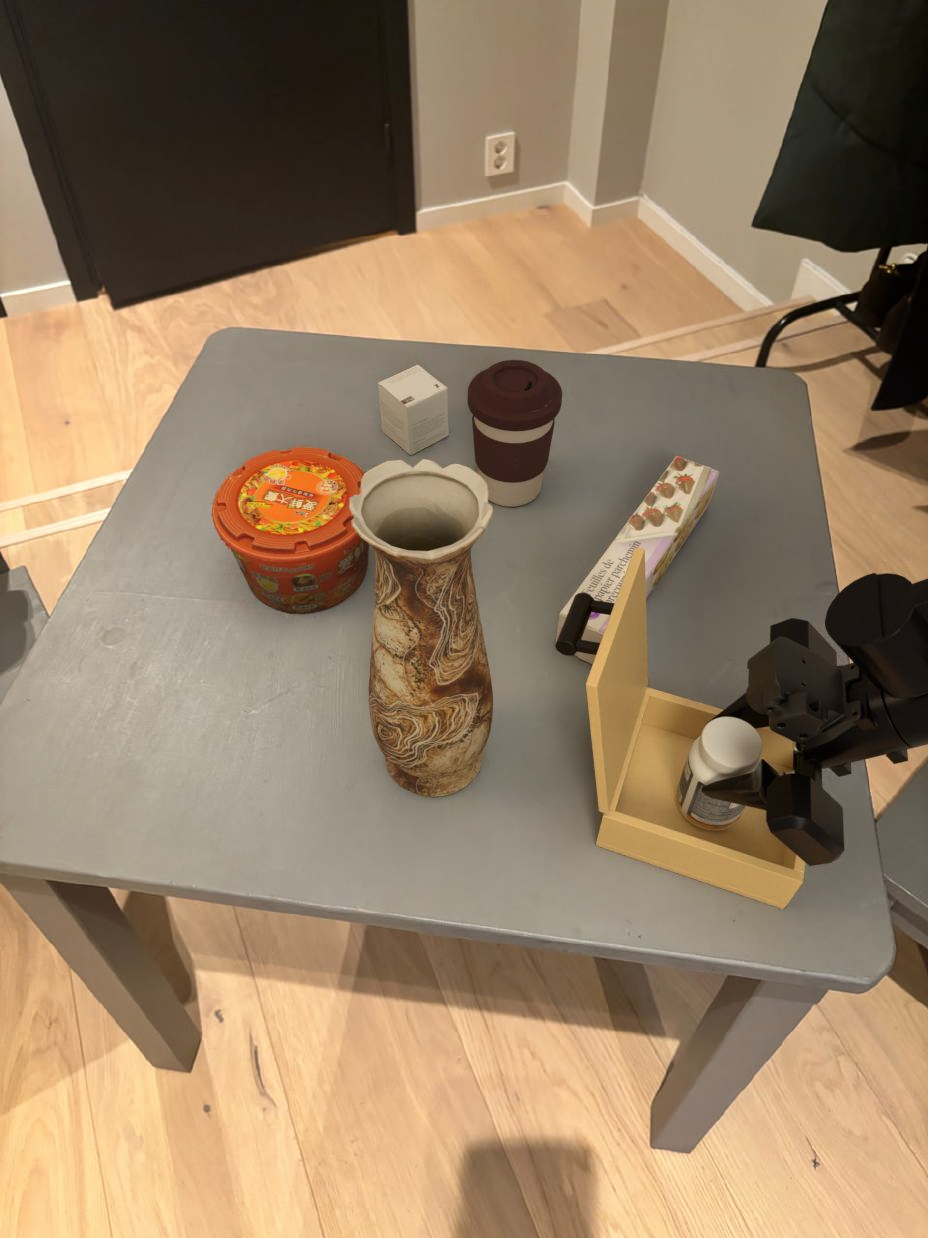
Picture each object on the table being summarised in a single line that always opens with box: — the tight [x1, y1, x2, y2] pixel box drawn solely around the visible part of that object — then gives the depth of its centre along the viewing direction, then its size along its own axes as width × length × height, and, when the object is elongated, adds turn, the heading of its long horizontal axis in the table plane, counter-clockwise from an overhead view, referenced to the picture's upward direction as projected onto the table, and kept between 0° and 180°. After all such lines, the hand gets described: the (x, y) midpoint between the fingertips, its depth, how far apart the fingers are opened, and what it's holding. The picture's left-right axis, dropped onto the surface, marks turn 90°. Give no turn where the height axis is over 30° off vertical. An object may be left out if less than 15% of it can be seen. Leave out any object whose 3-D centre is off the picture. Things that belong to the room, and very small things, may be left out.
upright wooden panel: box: [554, 548, 649, 814], centre depth 70 cm, size 16×14×4 cm
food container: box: [211, 446, 370, 615], centre depth 92 cm, size 16×16×11 cm
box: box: [554, 455, 720, 665], centre depth 93 cm, size 27×5×6 cm, turn 147°
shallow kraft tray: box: [595, 686, 806, 910], centre depth 76 cm, size 16×14×5 cm
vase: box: [349, 458, 494, 798], centre depth 70 cm, size 10×11×30 cm
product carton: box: [377, 364, 450, 456], centre depth 107 cm, size 6×6×7 cm
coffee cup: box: [467, 359, 563, 508], centre depth 98 cm, size 10×10×15 cm
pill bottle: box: [676, 717, 763, 831], centre depth 73 cm, size 6×6×10 cm
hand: (706, 759), depth 72 cm, fingers closed on pill bottle, 6 cm apart
